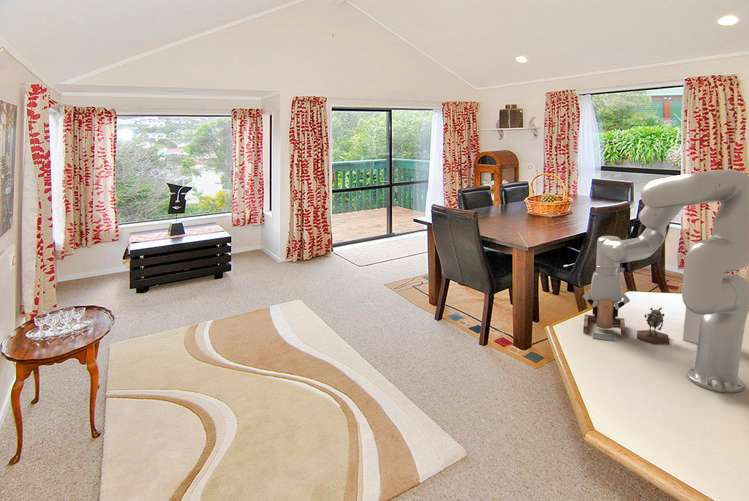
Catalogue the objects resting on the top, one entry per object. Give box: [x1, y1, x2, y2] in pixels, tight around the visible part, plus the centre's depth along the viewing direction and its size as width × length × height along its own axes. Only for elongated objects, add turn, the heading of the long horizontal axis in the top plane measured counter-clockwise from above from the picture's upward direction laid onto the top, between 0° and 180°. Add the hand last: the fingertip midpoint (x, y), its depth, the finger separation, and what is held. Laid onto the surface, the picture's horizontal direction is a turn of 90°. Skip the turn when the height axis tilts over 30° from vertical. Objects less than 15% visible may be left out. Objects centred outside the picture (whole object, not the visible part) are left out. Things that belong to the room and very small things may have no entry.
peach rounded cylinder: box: [595, 299, 615, 330], centre depth 156 cm, size 6×8×11 cm
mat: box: [592, 332, 616, 342], centre depth 153 cm, size 5×7×1 cm
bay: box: [582, 314, 627, 339], centre depth 159 cm, size 12×13×3 cm
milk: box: [682, 306, 702, 345], centre depth 144 cm, size 6×6×22 cm
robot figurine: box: [636, 306, 670, 345], centre depth 149 cm, size 11×9×12 cm
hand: (604, 316), depth 157 cm, fingers closed on peach rounded cylinder, 5 cm apart
